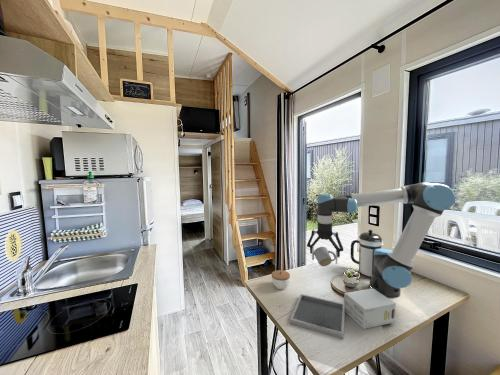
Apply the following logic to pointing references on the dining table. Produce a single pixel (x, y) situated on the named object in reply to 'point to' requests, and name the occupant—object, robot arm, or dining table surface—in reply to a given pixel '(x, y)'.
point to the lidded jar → (280, 279)
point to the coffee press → (366, 251)
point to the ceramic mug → (323, 256)
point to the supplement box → (369, 308)
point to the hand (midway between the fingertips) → (324, 261)
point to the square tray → (319, 315)
